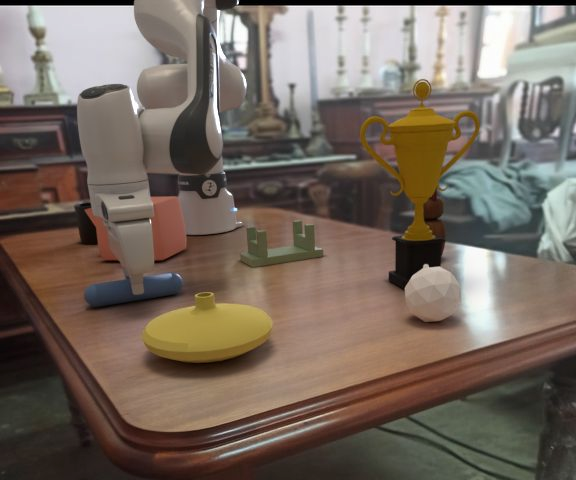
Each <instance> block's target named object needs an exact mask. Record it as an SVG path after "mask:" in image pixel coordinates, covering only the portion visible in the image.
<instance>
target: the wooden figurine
mask: <svg viewBox="0 0 576 480" xmlns="http://www.w3.org/2000/svg"><path fill="white" fill-rule="evenodd" d="M437 190H438V189H437V188H436V189H435V192H434V194H433V195H432V197H429V199H428V200H427V202H425V203H424V204H423V210H424V211H423V217H424V222H425V224H426V225H427V226H429V227H430V229H429V230H432V234H433V235H436V236H439V237H442V238H444V239H446V238H447V237H446V236H447V233H446V232H447V231H446V224H445V223H444V220H442V219H440V218H441V217H442V216H443V214H444V202H443V200H442V199H441V198H440V197H438V193H437V192H438V191H437ZM446 240H447V239H446ZM445 247H446V241H445V242H442V248H441V257H442V256H443V254H444V250H445Z"/></svg>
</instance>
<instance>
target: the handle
mask: <svg viewBox="0 0 576 480" xmlns="http://www.w3.org/2000/svg"><path fill="white" fill-rule="evenodd" d="M143 287H144V293H143V294H139V295H134V294H133V293H132V291H131V287H130V279H125V278H124V279H117V280H113V281H106V282H99V283H93V284H90V285H88V286H87V287H86V288H85V290H84V293H83V297H84V300H85V302H86V304H88V305H89V306H91V307H93V308H101V307H105V306H106V307H107V306H112V305H119V304H125V303H131V302H137V301H143V300H144V301H145V300H149V299H155V298H161V297H168V296H174V295H177V294H179V293H180V292H181V291H182V289H183V287H184V281H183V278H182V276H180V274H178V273H176V272H166V273H159V274H158V273H157V274H151V275H145V276H144V275H143Z"/></svg>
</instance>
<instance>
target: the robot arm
mask: <svg viewBox="0 0 576 480" xmlns="http://www.w3.org/2000/svg"><path fill="white" fill-rule="evenodd" d="M239 2H240V0H134V1H133V17H134V21H135V25H136V27H137V28H138V31H139V32H140V34H141V36H142V37H143V38H144V39H145V40H146V42H147V43H148V44H149V45H150V46H152V47H153V48H155V49H156V50H157V51H159V52H161V53H162V54H165V55H166V56H170V57H174V58H176V59H177V58H178V59H180V60H182V61H184V62H186V63H169V64H168V63H167V64H159V65H155V66H151V67H148V68H144V69H143V70H142V71H141V72H140V73H139V76H138V78H137V81H136V94H137V98H138V100H139V102H140V104H141V105H140V104H139V103H137V102H136V100H135V97H134V95H133V91H132V89H131V87H130V86H129V85H127V84H123V83H108V84H103V85H99V86H98V85H95V86H92V87H88V88H86V89H84V90H82V91H81V92H80V93H79V94H78V97H77V103H76V118H77V128H78V136H79V144H80V149H81V154H82V156H83V158H84V161H85V162H86V167H87V178H86V183H87V189H88V194H89V200H90V201H89V202H91V206H92V212H93V216H95V217H101V218H102V219H103V225H104V226H105V227H107V234H108V240H109V246H110V250H111V252H112V253H113V254H114V255H115V257H116V258H117V259H118V260H117V261H118V262H119V263H120V266H121V269H122V273H123V275H124V279H130V287H131V291H132V293H133V294H134V295H139V294H143V293H144V287H143V277H144V274H147V273H152V272H153V271H154V267H155V261H154V248H153V234H152V225H151V220H150V219H149V218H153V217H154V208H153V204H152V201H151V197H152V196H151V189H150V183H149V176H148V174H178V175H177V188H178V190H179V191H178V195H177V197H178V199H179V203H180V207H181V211H182V215H183V219H184V225H185V230H186V236H202V235H203V236H205V235H212V234H213V235H215V234H221V233H227V232H230V231H234V230H235V229H237V228H240V227H243V222H242V221H238V220H237V214H236V212H238V208H237V207H235V199H234V195H233V194H232V193H231V192H230V191H228V189H227V186H228V185H227V184H228V183H227V181H228V180H227V177H226V174H227V173H226V172H225V170H224V161H223V160H224V159H223V154H224V153H223V152H224V135H223V127H222V121H221V120H222V119H221V113H225V112H228V111H229V112H230V111H232V110H235V109H239V108H240V107H241V106H242V105H243V103H244V101H245V98H246V96H247V81H246V78H245V76H244V73H243V72H242V71H241V69H240V68H239V67H238V66H237V65H235V64H234V63H232V61H230V60H229V59H228V58H227V57H226V55H225V54H224V52H223V50H222V47H221V44H220V11H222V12H223V11H232V10H233V9H234V8H235V7H237V6H238V5H239Z"/></svg>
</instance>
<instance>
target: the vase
mask: <svg viewBox="0 0 576 480" xmlns="http://www.w3.org/2000/svg"><path fill="white" fill-rule="evenodd" d="M194 301H195V302H194V303H195V305H191V306H186V307H182V308H178V309H174V310H171V311H168V312H165V313H163V314H160V315H158V316H156V317H154V318H152V319H151V320H150V321H149V322H148V324H147V325H146V326H145V327H144V329H143V330H142V332H141V341H142V342H143V344H144V346H145V347H146V349H147V350H148V351H149V352H150V353H151V354H154V355H156V356H158V357H161V358H164V359H169V360H173V361H177V362H178V361H179V362H182V363H190V364H192V363H193V364H201V363H215V362H222V361H225V360H226V361H227V360H230V359H235V358H236V357H239V356H241V355H244V354H246V353H248V352H250V351H252V350H254V349H256V348H258V347H259V346H261V345H263V344H264V343H266V341H267V340H268V339H269V338H270V337H271V333H272V330H273V325H274V321H273V320H272V318H271V316H269V314H268V313H267V312H265V311H264V310H262V309H261V308H259V307H256V306H252V305H248V304H242V303H241V304H240V303H227V302H226V303H216V300H215V294H214V292H210V291H205V292H204V291H203V292H198V293H196V294H194Z"/></svg>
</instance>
